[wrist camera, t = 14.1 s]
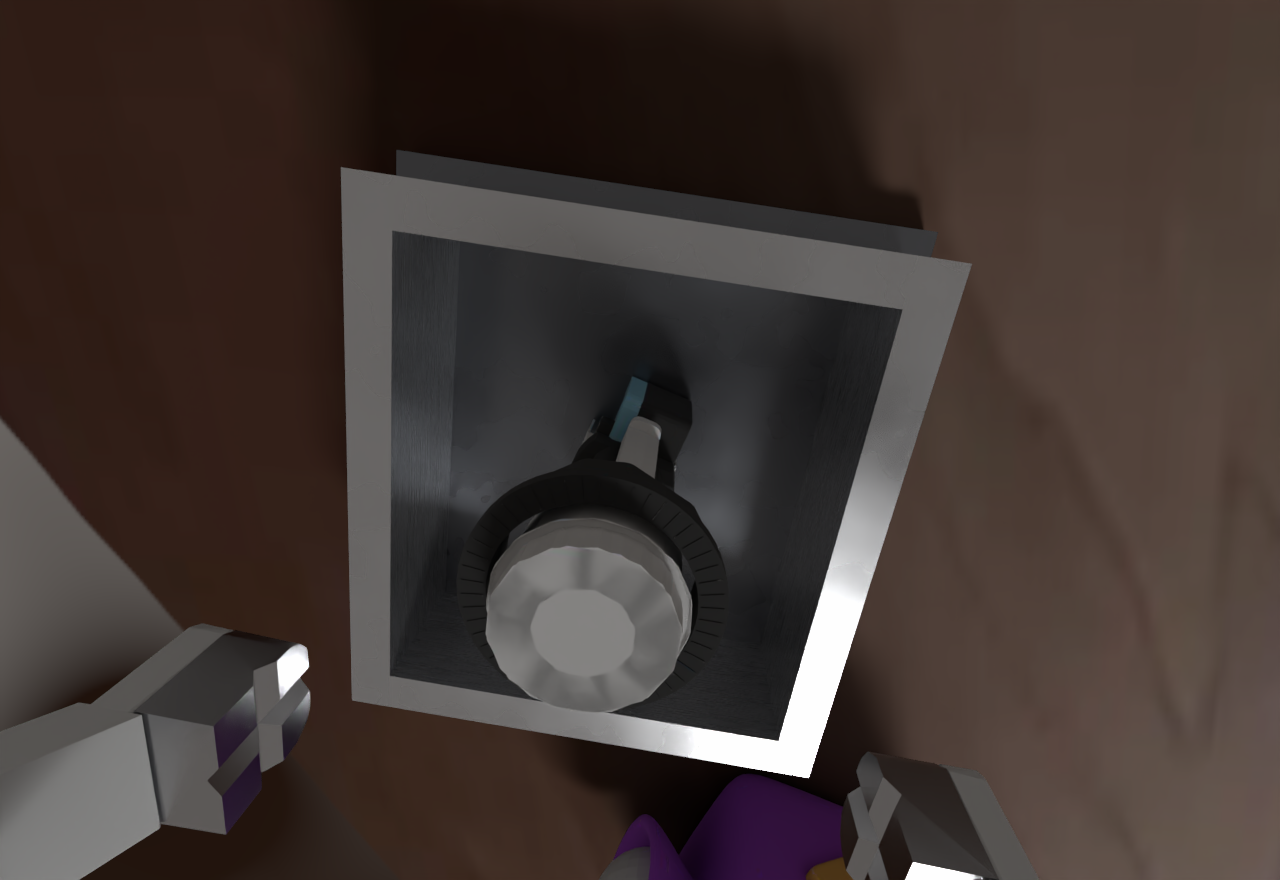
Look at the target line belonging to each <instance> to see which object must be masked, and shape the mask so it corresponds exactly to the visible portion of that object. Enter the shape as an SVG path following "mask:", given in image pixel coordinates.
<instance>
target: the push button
mask: <svg viewBox="0 0 1280 880" xmlns="http://www.w3.org/2000/svg"><path fill="white" fill-rule="evenodd" d="M594 422H595V420H594V419H593V421H592V423H591V425H590V427H589V429H588V431H587V433H586V436H585V438H584V441H583V443H582V445H581V447H580V448H579V449H578V451H577V453H576V455H575V457H574V459H573V461H572V463H571V464H570V465H567V466H565V467H563V468H560V469H558V470H556V471H553V472H549V473H546V474H542V475H539V476H536V477H534V478H531V479H529V480H527V481H524V482H522V483H521V484H519V485H517V486H515V487H514V488H512V489H510V490H509V491H508V492H506V493H505V494H504V495H502V496H501V497H500V498H499V499H497V500H496V501H495V502H494V503H493V504H492V505H491V506H490V507H489V508H488V510H487V511H486V512H485V513H484V514H483V516H482V517H481V518H480V520H479V521H478V522H477V524H476V525H475V527H474V528H473V530H472V532H471V533H470V535H469V537H468V539H467V541H466V543H465V545H464V547H463V550H462V553H461V556H460V560H459V565H458V570H457V582H456V585H457V598H458V604H459V609H460V612H461V616H462V619H463V622H464V624H465V627H466V629H467V631H468V633H469V635H470V637H471V639H472V641H473V642H474V644H475V645H476V647H477V648H478V650H479V651H480V653H481V654H482V655H483V656H484V657H485V659H486V660H487V661H488V662H489V663H490V664H491V665H492V666H493V667H494V668H495V669H496V670H497V671H498V672H499V673H500V674H502V675H503V676H504V677H505V678H506V679H508V680H509V681H510V682H512V683H513V684H515V685H516V686H518V687H519V688H521V689H523V690H524V691H525V692H526V693H527V694H528V695H529V696H530V697H533V698H536V699H538V700H541V701H543V702H544V703H546V704H547V705H549V706H554V707H559V708H562V709H564V710H567V711H569V712H591V713H597V714H598V713H601V712H613V711H615V710H624V709H630V708H635V707H639V706H643V705H646V704H650V703H652V702H655V701H658V700H660V699H663V698H664V697H666V696H668V695H670V694H672V693H674V692H676V691H677V690H679V689H680V688H682V687H684V686H685V685H686V684H687V683H689V682H690V681H691V680H692V679H694V678H695V677H696V676H697V675H698V674H699V673H700V672H701V671H702V670H703V669H704V667H705V666H706V665H707V664H708V662H709V661H710V660H711V658H712V657H713V655H714V653H715V652H716V650H717V648H718V646H719V644H720V642H721V640H722V637H723V634H724V631H725V628H726V624H727V618H728V612H729V591H728V582H727V576H726V570H725V566H724V562H723V559H722V556H721V553H720V551H719V549H718V547H717V544H716V542H715V540H714V539H713V537H712V535H711V534H710V532H709V530H708V529H707V528H706V526H705V525H704V524H703V522H702V521H701V519H700V517H699V515H698V513H697V511H696V509H695V507H694V506H693V505H692V504H691V503H690V502H688V501H687V500H685V499H684V498H682V497H681V496H679V495H678V494H677V493H675V492H674V483H675V470H676V468H675V467H676V464H677V457H678V455H679V452H680V450H681V448H682V446H683V444H684V442H685V440H686V438H687V436H688V434H689V431H690V429H691V426H692V423H693V415H692V402H691V401H689V400H687V399H685V398H682V397H680V396H678V395H675V394H673V393H671V392H668V391H666V390H664V389H661V388H659V387H657V386H654V385H652V384H650V383H647V382H644V381H642V380H640V379H637V378H635V377H633V376H632V378H631V380H630V383H629V385H628V387H627V390H626V392H625V397H624V399H623V402H622V404H621V406H620V409H619V411H618V413H617V416H616V418H615V420H613V419H610V418H608V417H605V416H602V417H601V420H600V422H599V424H598V427H597V429H596V431H595V434H593V433H591V430H592V427H593V425H594ZM534 515H535V516H534ZM532 516H534V517H533V518H532V520H531V521H530V522H529V524H528V526H527V528H526V530H525V532H524V534H523V535H521V536H520V537H518V538H517V539H516V540H514V541H513V542H512V544H511V545H510V546H509V547H508V549H507V546H508V538H509V534H510V532H511V531H512V530H513V529H514V528H516V527H517V526H518V525H520V524H521V523H522V522H524V521H525V520H527V519H529V518H530V517H532ZM682 554H683V555H684V557H685V558H686V560H687V562H688V564H689V566H690V568H691V570H692V573H693V575H694V578H695V581H694V584H693V587H692V590H691V592H689V590H688V588H687V585H686V583H685V581H684V578H683V576H682Z"/></svg>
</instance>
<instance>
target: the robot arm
mask: <svg viewBox="0 0 1280 880" xmlns="http://www.w3.org/2000/svg"><path fill="white" fill-rule="evenodd" d="M308 667H309V664H308V653H307V648H306V647H304V646H302V645H301V644H298V643H293V642H288V641H284V640H279V639H275V638H270V637H265V636H261V635H256V634H252V633H247V632H242V631H238V630H229V629H225V628H220V627H216V626H211V625H207V624H200V625H196V626H193V627H189V628H188V629H187V630H185V631H184V632H183V633H182V634H180V635H179V636H178V637H176V638H175V639H174V640H173V641H171V642H170V643H169V644H168V645H166V646H165V647H164V648H162V649H161V650H160V651H159V652H157V653H156V654H155V655H154V656H152V657H151V658H150V659H148V660H147V661H146V662H144V663H143V664H142V665H141V666H139V667H138V668H137V669H135V670H134V671H133V672H132V673H130V674H129V675H128V676H127V677H125V678H124V679H123V680H121V681H120V682H119V683H118V684H116V685H115V686H114V687H112V688H111V689H110V690H109V691H107V692H106V693H105V694H103V695H102V696H101V697H100V698H98V699H97V700H96V701H94V702H93V703H92V704H91V705H89V704H83V703H77V704H74V705H71V706H69V707H66V708H63V709H61V710H58V711H55V712H52V713H50V714H47V715H44V716H41V717H39V718H36V719H33V720H31V721H28V722H25V723H22V724H20V725H17V726H14V727H12V728H9V729H6V730H4V731H1V732H0V880H79V879H81V878H82V877H84V876H86V875H87V874H89V873H90V872H92V871H94V870H95V869H97V868H98V867H100V866H101V865H103V864H104V863H106V862H108V861H109V860H111V859H112V858H114V857H115V856H117V855H118V854H120V853H122V852H123V851H125V850H126V849H128V848H130V847H131V846H133V845H134V844H135V843H137V842H139V841H140V840H142V839H144V838H145V837H147V836H148V835H150V834H151V833H153V832H155V831H156V830H158V829H159V828H160V824H166V825H172V826H178V827H185V828H190V829H196V830H202V831H209V832H214V833H220V834H227V833H228V831H229V830H230V829H231V827H232V826H233V825H234V824H235V822H236V821H237V820H238V819H239V817H240V816H241V814H242V813H243V812H244V811H245V810H246V808H247V807H248V806H249V804H250V803H251V802H252V801H253V799H254V798H255V797H256V795H257V794H258V793H259V792H260V790H261V789H262V772H263V771H265V770H267V769H269V768H271V767H273V766H274V765H276V764H278V763H280V762H282V761H284V759H285V758H286V756H287V755H288V754H289V753H290V751H291V750H292V749H293V747H294V746H295V745H296V743H297V741H298V739H299V737H300V735H301V733H302V731H303V728H304V726H305V724H306V722H307V718H308V713H309V708H310V691H309V689H308V688H307V687H306V685H305V684H304V683H303V681H302V680H301V679H300V676H301V675H302V674H303V673H304V672H305V670H306V669H307V668H308ZM856 772H857V776H858V779H859V783H860V787H858V788H857V789H855V790H854V791H852V792H851V793H849V794H847V797H846V801H845V804H844V807H843V810H842V814H841V827H840V839H841V849H842V855H843V859H844V864H845V868H846V871H847V872H848V874H849V875H850V876H851V877H852V879H853V880H1039V878H1038V876H1037V874H1036V872H1035V870H1034V868H1033V867H1032V865H1031V863H1030V861H1029V859H1028V857H1027V855H1026V854H1025V852H1024V850H1023V848H1022V846H1021V844H1020V842H1019V840H1018V839H1017V837H1016V835H1015V833H1014V831H1013V829H1012V827H1011V826H1010V824H1009V822H1008V820H1007V818H1006V816H1005V814H1004V813H1003V811H1002V809H1001V807H1000V805H999V803H998V801H997V800H996V798H995V796H994V794H993V792H992V790H991V788H990V787H989V785H988V783H987V781H986V779H985V778H984V777H983V776H982V775H981V774H980V773H979V772H978V771H976V770H970V769H965V768H959V767H953V766H948V765H942V764H939V765H937V764H935V763H929V762H924V761H918V760H913V759H907V758H902V757H896V756H891V755H885V754H880V753H874V752H867V753H866V754H865V755H864V756H863V757H862V758H861V760H860V763H859V765H858V768H857V770H856Z"/></svg>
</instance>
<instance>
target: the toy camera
mask: <svg viewBox="0 0 1280 880" xmlns="http://www.w3.org/2000/svg"><path fill="white" fill-rule="evenodd" d="M842 810H843V807H842V806H840V805H837V804H835V803H832V802H830V801H827V800H825V799H822V798H820V797H817V796H815V795H812V794H810V793H807V792H805V791H802V790H800V789H797V788H794V787H792V786H789V785H787V784H784V783H781V782H779V781H776V780H773V779H770V778H767V777H764V776H761V775H755V774H742V775H740V776H737V777H736V778H734V779H733V780H732V781H731V782H730V783H729V784H728V785H727V786H726V787H725V788H724V790H723V791H722V792H721V793H720V795H719V796H718V797H717V799H716V800H715V801H714V803H713V804H712V806H711V807H710V809H709V810H708V811H707V813H706V814H705V816H704V817H703V819H702V820H701V822H700V823H699V825H698V826H697V827H696V829H695V830H694V832H693V833H692V835H691V836H690V838H689V840H688V841H687V843H686V844H685V846H684V847H683V849H682V851H681V852H680V854H679V855H678V853H677V852H676V850H675V848H674V847H673V845H672V843H671V842H670V840H669V838H668V837H667V835H666V834H665V832H664V831H663V829H662V828H661V827H660V825H659V824H658V823H657V821H656V820H655V819H654V818H653V817H651V816H650V815H648V814H643V815H641V816H639V817H638V818H637V819H636V820H635V821H634V822H633V823H632V824H631V825H630V827H629V828H628V830H627V832H626V833H625V835H624V837H623V839H622V841H621V843H620V845H619V847H618V850H617V852H616V855H615V857H614V859H613V861H612V862H611V863H610V864H609V865H608V867H607V868H606V869H605V871H604V872H603V874H602V875H601V877H600V879H599V880H853V879H852V877H851V876H850V875H849V874H848V872H847V871H846V868H845V864H844V859H843V855H842V849H841V839H840V827H841V814H842Z"/></svg>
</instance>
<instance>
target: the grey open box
mask: <svg viewBox="0 0 1280 880" xmlns="http://www.w3.org/2000/svg"><path fill="white" fill-rule="evenodd" d="M341 196H342V244H343V291H344V339H345V387H346V435H347V483H348V531H349V579H350V626H351V674H352V700H353V701H359V702H365V703H371V704H377V705H383V706H389V707H395V708H400V709H406V710H412V711H418V712H424V713H430V714H436V715H442V716H447V717H453V718H459V719H465V720H471V721H477V722H483V723H489V724H494V725H500V726H506V727H512V728H518V729H524V730H530V731H536V732H542V733H547V734H553V735H559V736H565V737H571V738H577V739H583V740H589V741H594V742H600V743H606V744H612V745H618V746H624V747H630V748H636V749H641V750H647V751H653V752H659V753H665V754H671V755H677V756H683V757H689V758H694V759H700V760H706V761H712V762H718V763H724V764H730V765H736V766H741V767H747V768H753V769H759V770H765V771H771V772H777V773H783V774H788V775H794V776H800V777H806V778H809V775H810V772H811V769H812V765H813V762H814V759H815V756H816V753H817V750H818V747H819V743H820V740H821V737H822V734H823V731H824V728H825V725H826V721H827V718H828V715H829V712H830V709H831V706H832V703H833V699H834V696H835V693H836V690H837V687H838V684H839V680H840V677H841V674H842V671H843V668H844V665H845V662H846V658H847V655H848V652H849V649H850V646H851V643H852V640H853V636H854V633H855V630H856V627H857V624H858V621H859V618H860V614H861V611H862V608H863V605H864V602H865V599H866V596H867V592H868V589H869V586H870V583H871V580H872V577H873V573H874V570H875V567H876V564H877V561H878V558H879V555H880V551H881V548H882V545H883V542H884V539H885V536H886V533H887V529H888V526H889V523H890V520H891V517H892V514H893V511H894V507H895V504H896V501H897V498H898V495H899V492H900V489H901V485H902V482H903V479H904V476H905V473H906V470H907V467H908V463H909V460H910V457H911V454H912V451H913V448H914V444H915V441H916V438H917V435H918V432H919V429H920V426H921V422H922V419H923V416H924V413H925V410H926V407H927V404H928V400H929V397H930V394H931V391H932V388H933V385H934V382H935V378H936V375H937V372H938V369H939V366H940V363H941V360H942V356H943V353H944V350H945V347H946V344H947V341H948V337H949V334H950V331H951V328H952V325H953V322H954V319H955V315H956V312H957V309H958V306H959V303H960V300H961V297H962V293H963V290H964V287H965V284H966V281H967V278H968V275H969V271H970V268H971V265H972V264H970V263H963V262H957V261H950V260H944V259H937V258H931V254H932V251H933V248H934V244H935V241H936V237H937V234H938V232H933V231H927V230H920V229H913V228H907V227H900V226H894V225H887V224H881V223H874V222H867V221H861V220H854V219H848V218H841V217H835V216H828V215H821V214H815V213H808V212H802V211H795V210H789V209H782V208H776V207H769V206H762V205H756V204H749V203H743V202H736V201H730V200H723V199H716V198H710V197H703V196H697V195H690V194H684V193H677V192H671V191H664V190H657V189H651V188H644V187H638V186H631V185H625V184H618V183H611V182H605V181H598V180H592V179H585V178H579V177H572V176H566V175H559V174H552V173H546V172H539V171H533V170H526V169H520V168H513V167H506V166H500V165H493V164H487V163H480V162H474V161H467V160H461V159H454V158H447V157H441V156H434V155H428V154H421V153H415V152H408V151H401V150H396V176H395V175H389V174H382V173H376V172H369V171H363V170H356V169H349V168H343V167H341ZM632 376H633V377H635V378H637V379H640V380H642V381H644V382H647V383H650V384H652V385H654V386H657V387H659V388H661V389H664V390H666V391H668V392H671V393H673V394H675V395H678V396H680V397H682V398H685V399H687V400H689V401H691V402H692V415H693V423H692V426H691V429H690V431H689V434H688V436H687V438H686V440H685V442H684V444H683V446H682V448H681V450H680V452H679V455H678V457H677V464H676V467H675V468H676V470H675V483H674V492H675V493H677V494H678V495H679V496H681V497H682V498H684V499H685V500H687V501H688V502H690V503H691V504H692V505H693V506H694V507H695V509H696V511H697V513H698V515H699V517H700V519H701V521H702V522H703V524H704V525H705V526H706V528H707V529H708V530H709V532H710V534H711V535H712V537H713V539H714V540H715V542H716V544H717V547H718V549H719V551H720V553H721V556H722V559H723V562H724V566H725V570H726V576H727V582H728V591H729V612H728V618H727V624H726V628H725V631H724V634H723V637H722V640H721V642H720V644H719V646H718V648H717V650H716V652H715V653H714V655H713V657H712V658H711V660H710V661H709V662H708V664H707V665H706V666H705V667H704V669H703V670H702V671H701V672H700V673H699V674H698V675H697V676H696V677H695V678H694V679H692V680H691V681H690V682H689V683H687V684H686V685H685V686H684V687H682V688H680V689H679V690H677V691H676V692H674V693H672V694H670V695H668V696H666V697H664V698H663V699H660V700H658V701H655V702H652V703H650V704H646V705H643V706H639V707H635V708H630V709H624V710H615V711H613V712H601V713H598V714H597V713H591V712H569V711H567V710H564V709H562V708H559V707H554V706H549V705H547V704H546V703H544V702H543V701H541V700H538V699H536V698H533V697H530V696H529V695H528V694H527V693H526V692H525V691H524V690H523V689H521V688H519V687H518V686H516V685H515V684H513V683H512V682H510V681H509V680H508V679H506V678H505V677H504V676H503V675H502V674H500V673H499V672H498V671H497V670H496V669H495V668H494V667H493V666H492V665H491V664H490V663H489V662H488V661H487V660H486V659H485V657H484V656H483V655H482V654H481V653H480V651H479V650H478V648H477V647H476V645H475V644H474V642H473V641H472V639H471V637H470V635H469V633H468V631H467V629H466V627H465V624H464V622H463V619H462V616H461V612H460V609H459V604H458V598H457V585H456V582H457V570H458V565H459V560H460V556H461V553H462V550H463V547H464V545H465V543H466V541H467V539H468V537H469V535H470V533H471V532H472V530H473V528H474V527H475V525H476V524H477V522H478V521H479V520H480V518H481V517H482V516H483V514H484V513H485V512H486V511H487V510H488V508H489V507H490V506H491V505H492V504H493V503H494V502H495V501H496V500H497V499H499V498H500V497H501V496H502V495H504V494H505V493H506V492H508V491H509V490H510V489H512V488H514V487H515V486H517V485H519V484H521V483H522V482H524V481H527V480H529V479H531V478H534V477H536V476H539V475H542V474H546V473H549V472H553V471H556V470H558V469H560V468H563V467H565V466H567V465H570V464H571V463H572V461H573V459H574V457H575V455H576V453H577V451H578V449H579V448H580V447H581V445H582V443H583V441H584V438H585V436H586V433H587V431H588V429H589V427H590V425H591V423H592V421H593V419H594V420H595V422H594V425H593V427H592V430H591V433H593V434H595V431H596V429H597V427H598V424H599V422H600V420H601V417H602V416H605V417H608V418H610V419H613V420H615V418H616V416H617V413H618V411H619V409H620V406H621V404H622V402H623V399H624V397H625V392H626V390H627V387H628V385H629V383H630V380H631V378H632ZM534 516H535V515H534ZM534 516H532V517H530V518H529V519H527V520H525V521H524V522H522V523H521V524H520V525H518V526H517V527H516V528H514V529H513V530H512V531H511V532H510V534H509V538H508V546H507V549H508V547H509V546H510V545H511V544H512V542H513V541H514V540H516V539H517V538H518V537H520V536H521V535H523V534H524V532H525V530H526V528H527V526H528V524H529V522H530V521H531V520H532V518H533V517H534ZM682 576H683V578H684V581H685V583H686V585H687V588H688V590H689V592H691V590H692V587H693V584H694V581H695V578H694V575H693V573H692V570H691V568H690V566H689V564H688V562H687V560H686V558H685V557H684V555H683V554H682Z"/></svg>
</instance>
